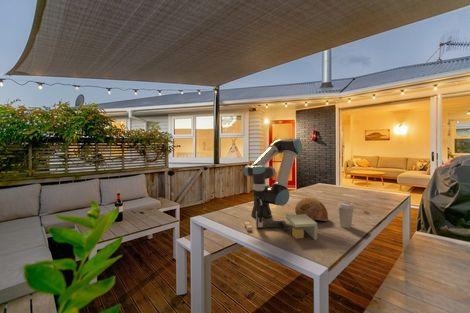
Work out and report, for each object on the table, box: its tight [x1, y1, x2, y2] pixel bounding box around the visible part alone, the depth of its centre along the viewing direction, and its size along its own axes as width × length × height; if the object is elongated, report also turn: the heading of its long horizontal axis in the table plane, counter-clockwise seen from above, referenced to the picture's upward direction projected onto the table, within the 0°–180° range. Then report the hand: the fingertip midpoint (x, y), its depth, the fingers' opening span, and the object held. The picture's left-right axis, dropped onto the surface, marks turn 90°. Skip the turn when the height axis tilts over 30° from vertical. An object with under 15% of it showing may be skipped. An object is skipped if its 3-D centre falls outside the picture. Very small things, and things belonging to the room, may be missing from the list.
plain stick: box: [244, 221, 253, 232], centre depth 146 cm, size 10×3×3 cm, turn 10°
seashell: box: [294, 197, 329, 222], centre depth 161 cm, size 21×20×15 cm
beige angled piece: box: [285, 214, 318, 241], centre depth 135 cm, size 16×13×10 cm
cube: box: [291, 226, 305, 239], centre depth 133 cm, size 5×5×5 cm
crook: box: [255, 211, 289, 232], centre depth 144 cm, size 10×18×10 cm, turn 95°
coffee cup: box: [337, 201, 355, 229], centre depth 146 cm, size 10×10×15 cm
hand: (259, 225), depth 146 cm, fingers closed on crook, 4 cm apart
